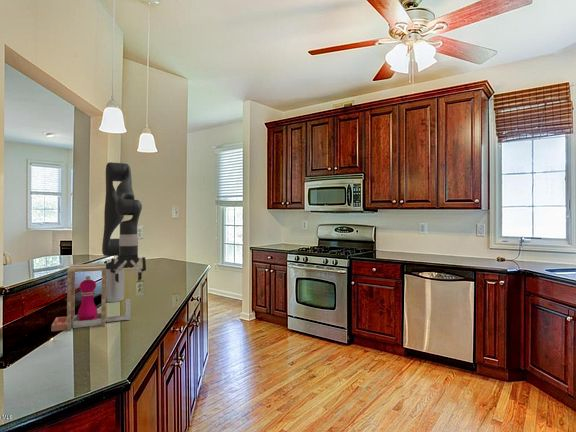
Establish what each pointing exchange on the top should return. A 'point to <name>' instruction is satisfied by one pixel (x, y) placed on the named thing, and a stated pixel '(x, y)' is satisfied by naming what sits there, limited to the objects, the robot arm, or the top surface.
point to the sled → (99, 318)
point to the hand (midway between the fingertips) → (128, 281)
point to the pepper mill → (87, 300)
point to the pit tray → (59, 324)
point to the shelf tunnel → (70, 289)
